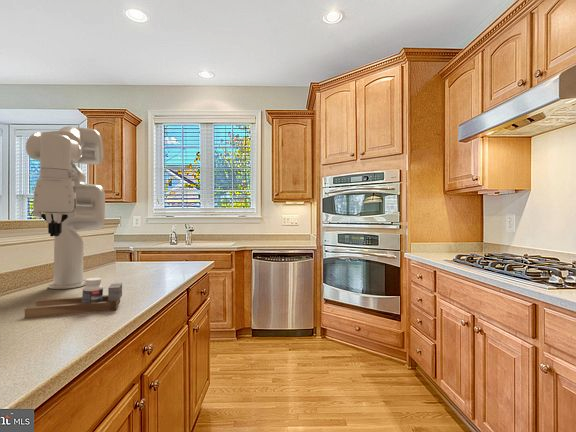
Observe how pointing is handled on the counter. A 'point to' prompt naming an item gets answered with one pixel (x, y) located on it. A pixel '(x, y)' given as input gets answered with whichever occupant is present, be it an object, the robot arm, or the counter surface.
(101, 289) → the pill bottle
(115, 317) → the counter surface
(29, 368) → the counter surface
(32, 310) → the beam
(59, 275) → the robot arm
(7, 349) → the counter surface
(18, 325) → the counter surface
